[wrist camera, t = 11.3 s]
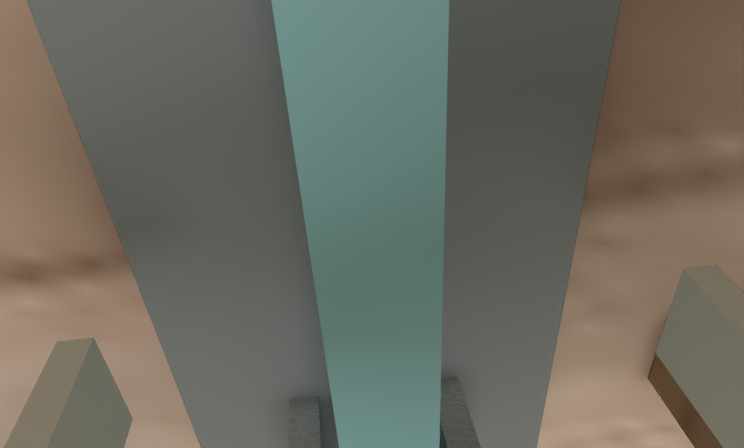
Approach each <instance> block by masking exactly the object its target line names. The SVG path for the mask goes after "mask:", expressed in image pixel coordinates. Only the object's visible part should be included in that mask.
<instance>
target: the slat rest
mask: <svg viewBox="0 0 744 448" xmlns="http://www.w3.org/2000/svg"><path fill="white" fill-rule="evenodd" d="M648 379H649V381H650V382H651V384H652V385H653V387H654V388H655V390H656V391H657V393H658V394H659V396H660V397H661V399H662V400H663V402H664V403H665V404H666V406H667V407H668V409H669V410H670V412H671V413H672V415H673V416H674V418H675V419H676V421H677V422H678V424H679V425H680V427H681V428H682V429H683V431H684V432H685V434H686V435H687V437H688V438H689V440H690V441H691V443H692V444H693V446H694V447H695V448H723V447H722V446H721V444H720V443H719V441H718V440H717V439H716V437H715V436H714V434H713V433H712V431H711V430H710V429H709V427H708V426H707V424H706V423H705V422H704V420H703V419H702V417H701V416H700V415H699V413H698V412H697V410H696V409H695V408H694V406H693V405H692V403H691V402H690V401H689V399H688V398H687V396H686V395H685V394H684V392H683V391H682V389H681V388H680V387H679V385H678V384H677V382H676V381H675V380H674V378H673V377H672V375H671V374H670V372H669V371H668V370H667V368H666V367H665V365H664V364H663V363H662V361H661V360H660V358H659V357H658V356H657V354H656V357H655V360H654V363H653V366H652V368H651V371H650V374H649V377H648Z"/></svg>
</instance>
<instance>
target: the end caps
mask: <svg viewBox="0 0 744 448" xmlns="http://www.w3.org/2000/svg"><path fill="white" fill-rule="evenodd" d="M288 448H327V444H326V439H325V433H324V427H323V421H322V415H321V410H320V404H319V398H318V397H311V398H303V399H296V400H289V421H288ZM439 448H481V446H480V443H479V440H478V437H477V434H476V431H475V428H474V424H473V421H472V418H471V415H470V412H469V409H468V406H467V403H466V399H465V396H464V393H463V390H462V387H461V384H460V381H459V378H458V377H456V378H449V379H442V380H441V397H440V443H439Z"/></svg>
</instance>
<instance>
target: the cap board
mask: <svg viewBox="0 0 744 448" xmlns="http://www.w3.org/2000/svg"><path fill="white" fill-rule="evenodd" d="M620 2H621V0H449V29H448V75H447V121H446V167H445V213H444V259H443V305H442V351H441V380H442V379H449V378H456V377H458V378H459V381H460V384H461V387H462V390H463V393H464V396H465V399H466V403H467V406H468V409H469V412H470V415H471V418H472V421H473V424H474V428H475V431H476V434H477V437H478V440H479V443H480V446H481V448H537V442H538V437H539V432H540V427H541V421H542V416H543V411H544V405H545V400H546V395H547V389H548V384H549V379H550V374H551V368H552V363H553V358H554V352H555V347H556V342H557V336H558V331H559V326H560V320H561V315H562V310H563V305H564V299H565V294H566V289H567V283H568V278H569V273H570V267H571V262H572V257H573V252H574V246H575V241H576V236H577V230H578V225H579V220H580V214H581V209H582V204H583V199H584V193H585V188H586V183H587V177H588V172H589V167H590V161H591V156H592V151H593V146H594V140H595V135H596V130H597V124H598V119H599V114H600V108H601V103H602V98H603V92H604V87H605V82H606V77H607V71H608V66H609V61H610V55H611V50H612V45H613V39H614V34H615V29H616V24H617V18H618V13H619V8H620ZM27 3H28V5H29V8H30V10H31V13H32V15H33V18H34V21H35V23H36V26H37V28H38V31H39V33H40V36H41V39H42V41H43V44H44V46H45V49H46V51H47V54H48V56H49V59H50V62H51V64H52V67H53V69H54V72H55V74H56V77H57V80H58V82H59V85H60V87H61V90H62V92H63V95H64V97H65V100H66V103H67V105H68V108H69V110H70V113H71V115H72V118H73V121H74V123H75V126H76V128H77V131H78V133H79V136H80V138H81V141H82V144H83V146H84V149H85V151H86V154H87V156H88V159H89V161H90V164H91V167H92V169H93V172H94V174H95V177H96V179H97V182H98V185H99V187H100V190H101V192H102V195H103V197H104V200H105V202H106V205H107V208H108V210H109V213H110V215H111V218H112V220H113V223H114V226H115V228H116V231H117V233H118V236H119V238H120V241H121V243H122V246H123V249H124V251H125V254H126V256H127V259H128V261H129V264H130V267H131V269H132V272H133V274H134V277H135V279H136V282H137V284H138V287H139V290H140V292H141V295H142V297H143V300H144V302H145V305H146V307H147V310H148V313H149V315H150V318H151V320H152V323H153V325H154V328H155V331H156V333H157V336H158V338H159V341H160V343H161V346H162V348H163V351H164V354H165V356H166V359H167V361H168V364H169V366H170V369H171V372H172V374H173V377H174V379H175V382H176V384H177V387H178V389H179V392H180V395H181V397H182V400H183V402H184V405H185V407H186V410H187V413H188V415H189V418H190V420H191V423H192V425H193V428H194V430H195V433H196V436H197V438H198V441H199V443H200V446H201V448H288V421H289V400H296V399H303V398H311V397H318V398H319V404H320V410H321V415H322V421H323V427H324V433H325V439H326V444H327V448H339V444H338V437H337V431H336V424H335V417H334V411H333V404H332V398H331V391H330V384H329V378H328V371H327V365H326V358H325V351H324V345H323V338H322V332H321V325H320V318H319V312H318V305H317V299H316V292H315V285H314V279H313V272H312V266H311V259H310V252H309V246H308V239H307V233H306V226H305V219H304V213H303V206H302V200H301V193H300V186H299V180H298V173H297V167H296V160H295V153H294V147H293V140H292V134H291V127H290V120H289V114H288V107H287V101H286V94H285V87H284V81H283V74H282V68H281V61H280V54H279V48H278V41H277V35H276V28H275V21H274V15H273V8H272V1H271V0H27Z"/></svg>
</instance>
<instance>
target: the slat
mask: <svg viewBox="0 0 744 448" xmlns="http://www.w3.org/2000/svg"><path fill="white" fill-rule="evenodd" d="M271 1H272V8H273V15H274V21H275V28H276V35H277V41H278V48H279V54H280V61H281V68H282V74H283V81H284V87H285V94H286V101H287V107H288V114H289V120H290V127H291V134H292V140H293V147H294V153H295V160H296V167H297V173H298V180H299V186H300V193H301V200H302V206H303V213H304V219H305V226H306V233H307V239H308V246H309V252H310V259H311V266H312V272H313V279H314V285H315V292H316V299H317V305H318V312H319V318H320V325H321V332H322V338H323V345H324V351H325V358H326V365H327V371H328V378H329V384H330V391H331V398H332V404H333V411H334V417H335V424H336V431H337V437H338V444H339V448H439V443H440V397H441V351H442V305H443V259H444V213H445V167H446V121H447V75H448V29H449V0H271Z"/></svg>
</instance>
